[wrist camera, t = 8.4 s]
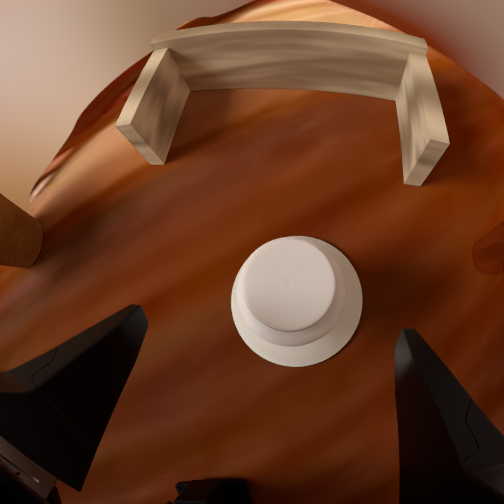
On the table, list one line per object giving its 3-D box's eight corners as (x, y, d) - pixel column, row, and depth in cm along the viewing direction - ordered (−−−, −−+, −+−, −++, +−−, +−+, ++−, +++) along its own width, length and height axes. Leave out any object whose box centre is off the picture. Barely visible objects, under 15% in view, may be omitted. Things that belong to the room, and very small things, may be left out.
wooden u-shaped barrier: (420, 186, 23) (454, 135, 15) (151, 164, 28) (109, 119, 20) (407, 93, 25) (424, 38, 17) (181, 82, 30) (156, 34, 23)
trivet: (376, 343, 20) (377, 343, 20) (250, 379, 21) (249, 380, 21) (338, 222, 23) (339, 220, 23) (219, 258, 24) (218, 256, 24)
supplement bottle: (347, 305, 21) (382, 288, 11) (291, 355, 21) (280, 379, 11) (298, 251, 23) (293, 195, 13) (243, 299, 23) (197, 277, 13)
